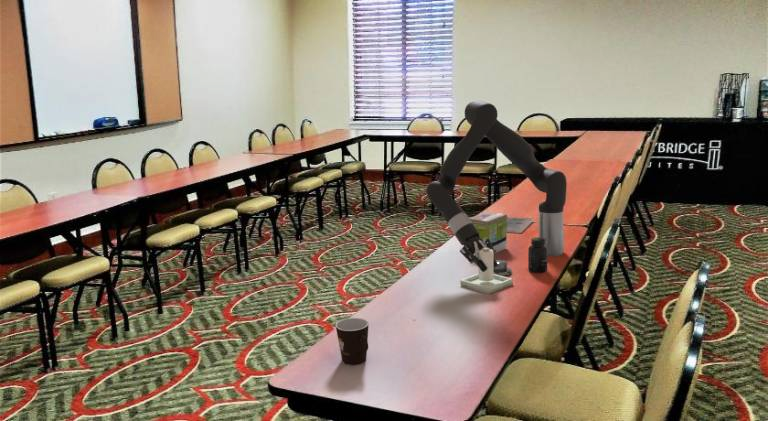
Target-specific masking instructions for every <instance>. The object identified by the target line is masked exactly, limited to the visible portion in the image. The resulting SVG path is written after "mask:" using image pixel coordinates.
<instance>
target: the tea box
mask: <svg viewBox="0 0 768 421" xmlns="http://www.w3.org/2000/svg"><path fill="white" fill-rule="evenodd" d="M507 215H508V214H507V213H498V212H493V211H492V212H489V211H485V212H482V213H480V214H477V215H474V216H472V217H469V219H470V220H471V222H472V223H473V224H474V226H475V227H476V229H477V230H478V232H479V237H480V238H481V239H482V240H487V239H489V240H490V242H491V244H492V246H493V248H494V251H495V253H494V254H493V255H495V254H497V253H499V252H501V251H504V250H506V249H507V239H508V238H507V236H508V235H507V233H508V232H507V217H508V216H507Z"/></svg>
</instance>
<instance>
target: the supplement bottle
mask: <svg viewBox="0 0 768 421" xmlns="http://www.w3.org/2000/svg"><path fill="white" fill-rule="evenodd" d="M530 239H531V240H530V244H531V245H530V246H529V247H528V253H527V255H528V258H527V259H528V260H527V262H528V264H527V265H528V266H527V269H528V272H530V273H533V274H544V273H546V272H548V258H549V256H548V249H547V247H546V246H545V239H544V238H539V236H538V237H537V236H536V237H532V238H530Z"/></svg>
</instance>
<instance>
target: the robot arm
mask: <svg viewBox="0 0 768 421" xmlns="http://www.w3.org/2000/svg"><path fill="white" fill-rule="evenodd" d="M464 118H465V120H466V122H467V123H468V124H469V125H470V128H469V130H468V131H467V133H466V134H465V136H464V137H463V138H462V139H460V141H459V142H457V144H456V145H454V147H453V148H452V149H451V150H450V151H449V153H448V155H447V156H446V158H445V160H444V162H443V163H442V165H441V167H440V169H439V173H440V177H439V179H438V181H437V180H435V181H431V182H429V183H428V184H427V186H426V189H425V190H426V191H425V192H426V196H427V198H428V199H429V201H430V202H431V203H432V204H433V206H434V207H435V208H436V209H437V210H438V211H439V212H440V214H441V216H442V218H443V219H444V221H446V224H448V227H449V229H450V230H451V232H452V233H453V235H454V236H455V238H456V239H457V240H458V242H459V244H460V245H461V246H462V247H461V248H460V250H459V252H460V254H462V255H463V257H464V258H465V259H466V260H467V261H468V263H470V264H473V263H474V264H475V265H477V267H478V269H479V268H480V270H481V271H482V272H484V271H486V270H487V267H486V265H485V264H484V262H483V261H482V260H480V259H481V258H480V256H479V250H481V249H482V248H489V249H491V250H493V255H495V254H496V253H495V251H494V248H493V246H492V244H491V242H490V240H489V239H487V240H482V239H481V238H480V237H479V232H478V230H477V229H476V227H475V226H474V224H473V223H472V222H471V220H470V219H469V218H470V217H469V216H468V215H467V213H465V211H464V210H463V208H462V207H461V206H460V204H459V203H458V202H457V201H455V199H453V197H452V194H453V193H454V188H455V186H456V184H457V180H458V178H459V176H460V175H461V173H462V171H463V169H464V168H465V166H466V164H467V162H468V160H469V159H470V157H471V155H472V154H473V153H474V151H475V150H476V148H477V147H478V146H479V145H480V143H481V142H482V140H483V139H484V138H485V137H486V138H487V139H488V140H489V141H490V142H491V143H492V145H494V147H496V149H497V150H498V151H499V152H500V153H501V154H502V155H503V156H504V157H505V158H506V159H508V160H509V162H511V163H512V164H513V165H514V166H515V167H516V168H517V169H518V170H520V172H521V173H523V174H524V175H525V176H526V177H527V179H529V181H530V182H531V183H532V185H533V186H534V187H535V188H536V189H537V190H538V191H540V192H542V193H544V194H545V195H546V196H545V200H544V201H541V202H540V203H539V204H538V237H539V238H544V239H545V246H546V247H547V249H548V257H559V256H562V255H563V253H564V249H565V248H564V247H565V246H564V245H565V229H564V207H565V204H566V199H567V177H566V174H564V172H562V171H560V170H557V169H556V170H553V169H550V168H547V167H545V166H544V165H543V164H542V163H540V161H539V160H537V159H536V157H535V152H534V150H533V148H532V146H531V145H530V144H529V142H527V140H525V139H524V138H523V137H522V136H521V134H518V133H517V132H516V131H515V130H513V129H512V128H510V127H508V126H507V125H505V124H504V123H502V122H501V121H499V120H498V109H497V108H496V106H495V105H494V104H492V103H489V102H485V101H482V100H473V101H471V102H469V103H468V104H466V106H465V108H464ZM494 253H495V254H494ZM496 260H497V259H495V258H494V256H493V264H494V268H495V267H496V266H497V265H498V264H497V262H496Z"/></svg>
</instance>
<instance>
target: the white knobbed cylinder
mask: <svg viewBox="0 0 768 421" xmlns="http://www.w3.org/2000/svg"><path fill="white" fill-rule="evenodd" d="M479 256H480V258H481V259H480V260H482V261H483V262H484V264H485V265H486V267H487V270H486V271H484V272H482V271H481V270H480V268H479V267H478V273H479V280H481V281H492V280H493V279H494V264H493V257H494V254H493V250H491V249H489V248H482V249H481V250H479Z"/></svg>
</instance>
